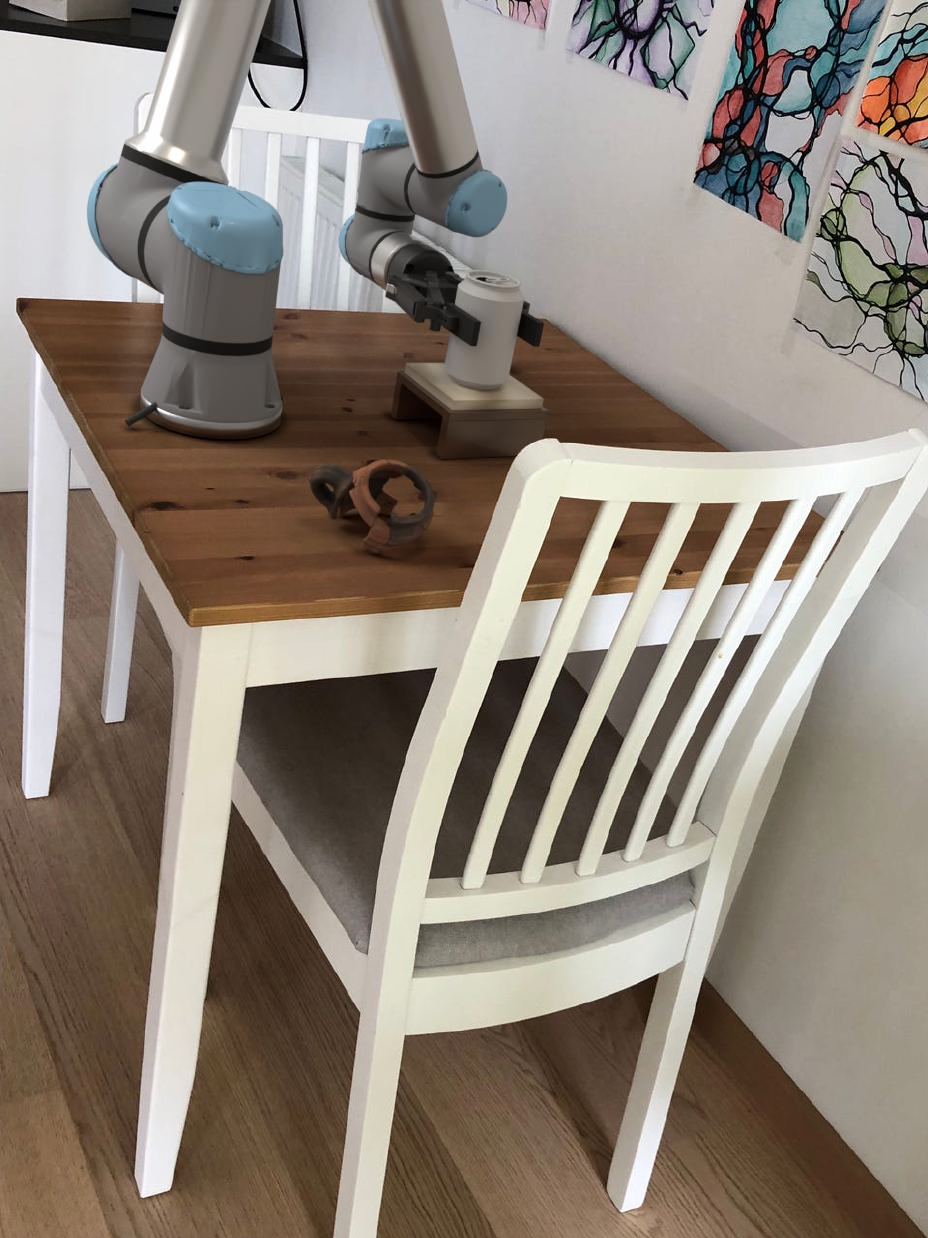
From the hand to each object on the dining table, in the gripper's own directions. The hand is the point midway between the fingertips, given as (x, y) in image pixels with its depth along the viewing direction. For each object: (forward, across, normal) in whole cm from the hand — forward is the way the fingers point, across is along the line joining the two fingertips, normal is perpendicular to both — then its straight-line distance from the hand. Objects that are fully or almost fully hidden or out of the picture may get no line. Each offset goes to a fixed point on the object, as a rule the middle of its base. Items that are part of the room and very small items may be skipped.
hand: (507, 334), depth 135 cm
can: (-5, 0, -7) cm, 9 cm away
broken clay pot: (+17, +23, -14) cm, 32 cm away
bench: (-5, 0, -14) cm, 15 cm away
